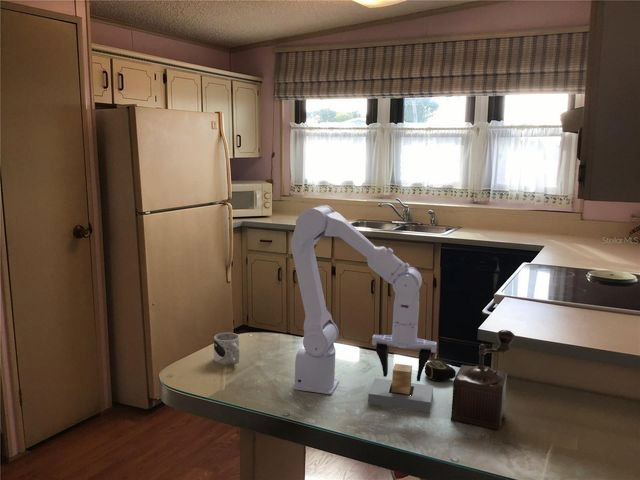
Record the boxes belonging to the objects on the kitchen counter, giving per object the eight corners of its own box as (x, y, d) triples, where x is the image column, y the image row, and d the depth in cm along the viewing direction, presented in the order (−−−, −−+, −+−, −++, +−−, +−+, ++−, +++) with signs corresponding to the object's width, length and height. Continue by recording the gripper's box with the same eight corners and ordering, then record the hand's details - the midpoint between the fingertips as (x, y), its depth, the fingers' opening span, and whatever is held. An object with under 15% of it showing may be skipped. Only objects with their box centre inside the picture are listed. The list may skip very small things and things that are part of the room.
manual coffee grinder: (502, 432, 115) (510, 350, 112) (449, 420, 119) (455, 341, 116) (509, 402, 129) (516, 329, 126) (461, 392, 133) (467, 321, 130)
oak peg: (390, 402, 127) (392, 370, 126) (393, 395, 131) (394, 363, 130) (408, 405, 126) (410, 372, 125) (410, 397, 130) (412, 365, 129)
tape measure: (456, 382, 140) (457, 368, 139) (432, 385, 138) (433, 370, 137) (442, 371, 146) (443, 358, 146) (419, 374, 144) (420, 360, 144)
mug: (209, 358, 150) (209, 335, 149) (231, 353, 154) (231, 331, 153) (226, 371, 142) (226, 346, 141) (249, 365, 146) (249, 341, 145)
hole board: (368, 403, 126) (368, 393, 126) (374, 387, 135) (374, 378, 134) (430, 412, 123) (430, 402, 122) (432, 395, 131) (433, 385, 131)
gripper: (371, 322, 123) (368, 379, 126) (436, 330, 120) (432, 388, 122) (376, 313, 130) (373, 368, 132) (438, 320, 127) (434, 376, 129)
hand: (401, 377), depth 128 cm, fingers open, 7 cm apart
